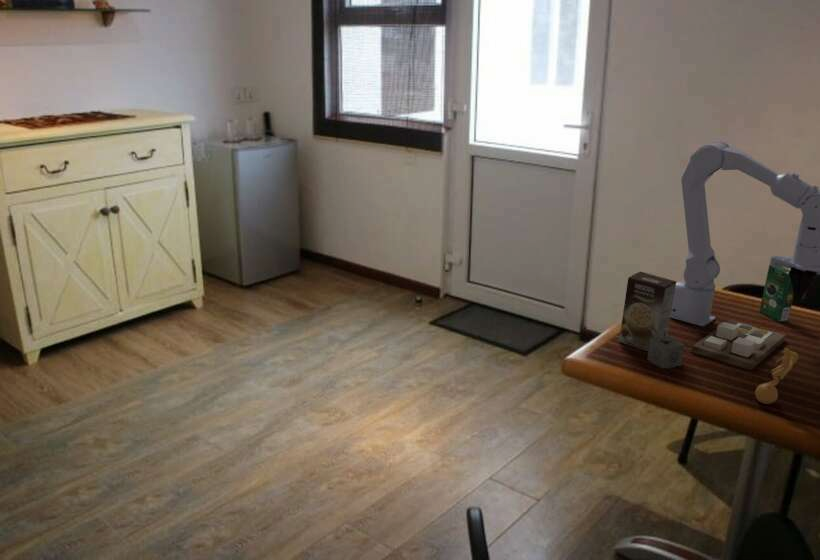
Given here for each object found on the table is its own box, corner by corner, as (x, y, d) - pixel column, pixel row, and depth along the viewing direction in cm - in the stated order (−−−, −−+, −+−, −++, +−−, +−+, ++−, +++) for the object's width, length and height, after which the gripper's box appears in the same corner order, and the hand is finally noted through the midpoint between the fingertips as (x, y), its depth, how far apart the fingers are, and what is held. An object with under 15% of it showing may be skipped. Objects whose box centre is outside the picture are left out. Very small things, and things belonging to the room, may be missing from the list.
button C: (702, 350, 164) (704, 340, 164) (709, 346, 167) (710, 335, 166) (718, 355, 162) (720, 345, 161) (724, 351, 165) (726, 340, 164)
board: (691, 352, 164) (692, 344, 163) (728, 325, 180) (730, 318, 180) (750, 370, 156) (752, 362, 155) (784, 340, 172) (786, 333, 171)
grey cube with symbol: (647, 360, 160) (650, 339, 158) (665, 356, 161) (668, 336, 160) (663, 369, 155) (666, 348, 154) (681, 366, 157) (684, 344, 155)
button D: (731, 352, 160) (733, 341, 159) (736, 347, 163) (738, 337, 162) (747, 357, 158) (750, 346, 157) (753, 352, 160) (755, 341, 160)
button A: (715, 336, 169) (717, 325, 168) (721, 331, 171) (723, 321, 171) (731, 340, 167) (733, 330, 166) (737, 336, 169) (739, 326, 168)
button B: (741, 350, 166) (743, 339, 165) (746, 345, 168) (748, 335, 167) (757, 354, 163) (759, 344, 162) (762, 350, 166) (764, 339, 165)
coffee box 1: (617, 342, 168) (626, 276, 163) (630, 334, 173) (639, 270, 168) (654, 354, 162) (665, 286, 157) (667, 346, 167) (677, 280, 162)
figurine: (752, 391, 146) (763, 336, 142) (785, 397, 144) (797, 342, 140) (754, 410, 139) (766, 353, 135) (789, 416, 137) (802, 358, 133)
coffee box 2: (789, 322, 184) (800, 273, 179) (779, 323, 183) (790, 274, 179) (768, 311, 191) (777, 263, 187) (758, 311, 190) (768, 264, 186)
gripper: (770, 241, 165) (759, 297, 170) (841, 254, 156) (827, 313, 161) (780, 235, 170) (769, 290, 175) (849, 248, 161) (835, 305, 166)
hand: (797, 301), depth 168 cm, fingers closed
